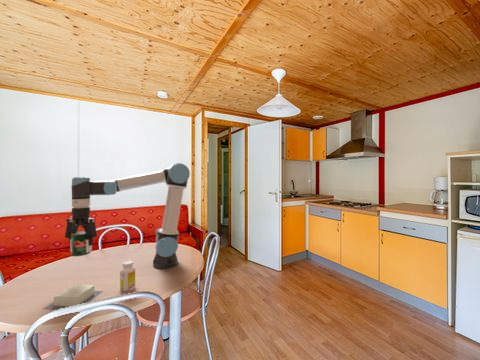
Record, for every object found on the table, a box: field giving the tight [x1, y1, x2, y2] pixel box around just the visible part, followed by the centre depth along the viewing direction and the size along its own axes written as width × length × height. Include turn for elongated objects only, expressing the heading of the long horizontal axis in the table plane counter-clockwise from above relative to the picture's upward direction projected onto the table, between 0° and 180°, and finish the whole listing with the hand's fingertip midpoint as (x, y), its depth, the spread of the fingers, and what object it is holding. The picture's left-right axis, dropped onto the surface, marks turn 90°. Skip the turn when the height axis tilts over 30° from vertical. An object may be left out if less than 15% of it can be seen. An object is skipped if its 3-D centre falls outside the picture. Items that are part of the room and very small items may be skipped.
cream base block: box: [53, 284, 95, 306], centre depth 93 cm, size 10×10×4 cm
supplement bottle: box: [119, 260, 136, 292], centre depth 104 cm, size 7×7×13 cm
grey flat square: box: [42, 290, 104, 311], centre depth 93 cm, size 15×15×1 cm
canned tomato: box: [70, 230, 92, 257], centre depth 107 cm, size 8×8×11 cm
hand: (81, 251), depth 107 cm, fingers closed on canned tomato, 8 cm apart
